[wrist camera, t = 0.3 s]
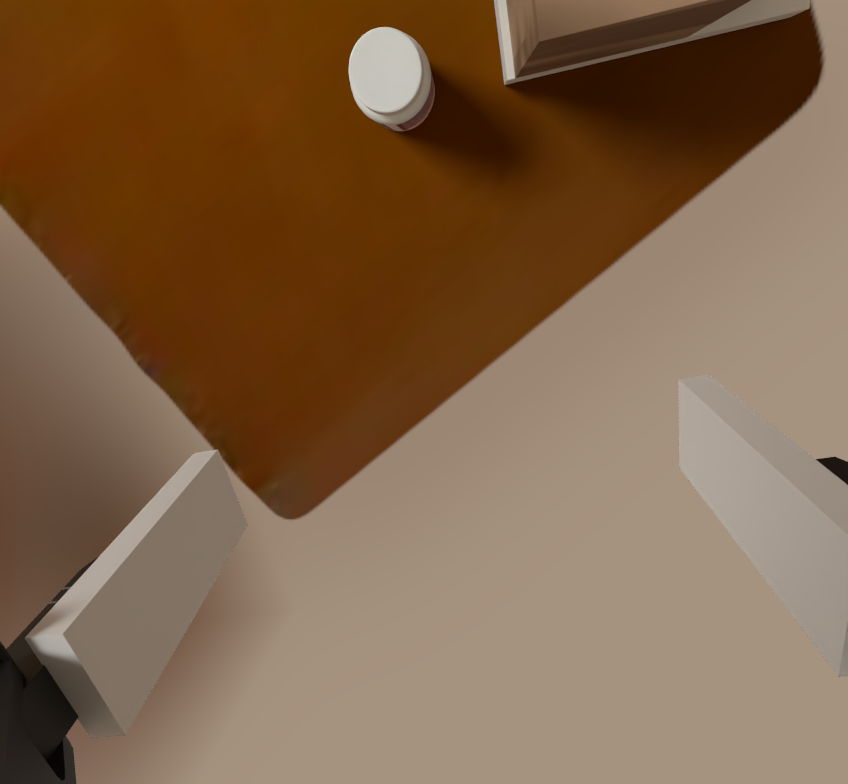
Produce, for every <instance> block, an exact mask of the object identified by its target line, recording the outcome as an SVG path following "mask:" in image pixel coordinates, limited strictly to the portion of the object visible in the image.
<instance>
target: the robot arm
mask: <svg viewBox="0 0 848 784" xmlns="http://www.w3.org/2000/svg"><path fill="white" fill-rule="evenodd" d="M679 468H680V469H681V471H682V472H683V473H684V475H685V476H686V477H687V478H688V480H689V481H690V482H691V484H692V485H693V486H694V488H695V489H696V490H697V492H698V493H699V494H700V495H701V497H702V498H703V499H704V501H705V502H706V503H707V505H708V506H709V507H710V508H711V510H712V511H713V512H714V514H715V515H716V517H717V518H718V519H719V520H720V522H721V523H722V524H723V526H724V527H725V528H726V530H727V531H728V532H729V534H730V535H731V536H732V537H733V539H734V540H735V541H736V543H737V544H738V545H739V547H740V548H741V549H742V551H743V552H744V553H745V555H746V556H747V557H748V558H749V560H750V561H751V562H752V564H753V565H754V566H755V567H756V569H757V570H758V572H759V573H760V574H761V576H762V577H763V578H764V579H765V581H766V582H767V583H768V584H769V586H770V587H771V589H772V590H773V591H774V592H775V594H776V595H777V596H778V598H779V599H780V600H781V602H782V603H783V604H784V606H785V607H786V608H787V609H788V611H789V612H790V614H791V615H792V616H793V617H794V619H795V620H796V621H797V623H798V624H799V625H800V626H801V628H802V629H803V631H804V632H805V633H806V635H807V636H808V637H809V638H810V640H811V641H812V642H813V644H814V645H815V646H816V648H817V649H818V650H819V652H820V653H821V654H822V655H823V657H824V658H825V659H826V661H827V662H828V663H829V665H830V666H831V667H832V669H833V670H834V671H835V673H836V674H837V675H838V676H839V677H840V676H848V462H846V461H844V460H841V459H839V458H837V457H830V458H823V459H814V458H813V457H812V456H811V455H809V454H808V453H807V452H806V451H804V450H803V449H802V448H801V447H799V446H798V445H797V444H796V443H794V442H793V441H792V440H791V439H789V438H788V437H787V436H785V435H784V434H783V433H782V432H780V431H779V430H778V429H777V428H775V427H774V426H773V425H772V424H770V423H769V422H768V421H766V420H765V419H764V418H763V417H762V416H760V415H759V414H758V413H757V412H755V411H754V410H753V409H752V408H750V407H749V406H748V405H747V404H745V403H744V402H743V401H742V400H740V399H739V398H738V397H736V396H735V395H734V394H733V393H731V392H730V391H729V390H728V389H726V388H725V387H724V386H722V385H721V384H720V383H719V382H718V381H716V380H715V379H714V378H713V377H711V376H710V375H704V376H697V377H690V378H684V379H679ZM246 527H247V522H246V519H245V517H244V514H243V512H242V509H241V507H240V504H239V502H238V499H237V497H236V494H235V492H234V489H233V487H232V484H231V481H230V479H229V476H228V474H227V471H226V469H225V466H224V464H223V461H222V459H221V456H220V454H219V451H218V450H212V451H205V452H198V453H194V454H193V455H192V456H191V457H190V458H189V459H188V460H187V461H186V462H185V464H184V465H183V466H182V467H181V468H180V469H179V470H178V471H177V473H175V474H174V476H173V477H172V478H171V479H170V480H169V481H168V482H167V483H166V484H165V485H164V486H163V487H162V489H161V490H160V491H159V492H158V493H157V494H156V495H155V496H154V497H153V498H152V500H151V501H150V502H149V503H148V504H147V505H146V506H145V507H144V508H143V509H142V510H141V512H140V513H139V514H138V515H137V516H136V517H135V518H134V519H133V520H132V521H131V523H130V524H129V525H128V526H127V527H126V528H125V529H124V530H123V531H122V532H121V533H120V534H119V536H118V537H117V538H116V539H115V540H114V541H113V542H112V543H111V544H110V545H109V546H108V548H107V549H106V550H105V551H104V552H103V553H102V554H101V555H100V556H98V557H97V558H96V559H95V560H93V561H92V562H90V563H89V564H88V565H86V566H85V567H84V568H82V569H81V570H80V571H79V572H78V573H77V574H76V575H75V576H74V577H73V578H72V579H71V581H70V582H69V583H68V584H67V585H66V586H65V590H61V591H60V592H59V593H58V594H57V595H56V597H55V598H54V599H53V600H52V603H51V604H48V605H47V606H46V607H45V608H44V610H43V611H42V612H41V613H40V614H39V615H38V616H37V617H36V618H35V619H34V620H33V621H32V622H31V623H30V624H29V625H28V627H27V628H26V629H25V630H24V631H23V632H22V633H21V634H20V635H19V636H18V637H17V638H16V639H15V640H14V642H13V643H12V644H11V645H10V646H9V647H8V648H7V649H5V647H4V646H3V645H2V643H1V642H0V784H76V775H75V765H74V753H73V747H72V746H71V743H70V741H69V740H68V739H67V737H66V734H67V732H68V731H69V730H70V728H71V727H72V725H73V724H74V723H75V721H76V720H77V718H78V720H79V721H80V723H81V724H82V726H83V727H84V729H85V730H86V732H87V733H88V735H89V736H90V738H99V737H112V736H124V735H126V734H127V732H128V730H129V729H130V727H131V725H132V723H133V721H134V720H135V718H136V717H137V715H138V713H139V711H140V709H141V708H142V706H143V705H144V703H145V701H146V699H147V698H148V696H149V694H150V692H151V691H152V689H153V687H154V686H155V684H156V682H157V680H158V679H159V677H160V675H161V673H162V672H163V670H164V668H165V667H166V665H167V663H168V661H169V660H170V658H171V656H172V654H173V653H174V651H175V649H176V647H177V646H178V644H179V642H180V641H181V639H182V637H183V635H184V634H185V632H186V630H187V629H188V627H189V625H190V623H191V621H192V620H193V618H194V616H195V615H196V613H197V611H198V610H199V608H200V606H201V604H202V603H203V601H204V599H205V598H206V596H207V594H208V592H209V591H210V589H211V587H212V585H213V584H214V582H215V580H216V579H217V577H218V575H219V573H220V572H221V570H222V568H223V566H224V565H225V563H226V561H227V560H228V558H229V556H230V554H231V553H232V551H233V549H234V547H235V546H236V544H237V542H238V541H239V539H240V537H241V535H242V534H243V532H244V530H245V529H246Z"/></svg>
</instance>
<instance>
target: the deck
mask: <svg viewBox="0 0 848 784" xmlns="http://www.w3.org/2000/svg"><path fill="white" fill-rule="evenodd" d="M494 5H495V13H496V21H497V29H498V37H499V45H500V53H501V61H502V69H503V78H504V85H507V84H511V83H515V82H520V81H524V80H528V79H532V78H537V77H541V76H545V75H549V74H553V73H558V72H562V71H566V70H570V69H575V68H579V67H583V66H587V65H591V64H596V63H600V62H604V61H608V60H613V59H617V58H621V57H625V56H629V55H634V54H638V53H642V52H646V51H651V50H655V49H659V48H663V47H667V46H672V45H676V44H680V43H684V42H689V41H693V40H697V39H701V38H706V37H710V36H714V35H718V34H722V33H727V32H731V31H735V30H739V29H744V28H748V27H752V26H756V25H760V24H765V23H769V22H773V21H777V20H782V19H786V18H790V17H792V16H794V15H796V14H798V13H801V12H803V11H805V10H807V9H809V8H810V0H751V1H749V2H747V3H746V4H744V5H742V6H741V7H739V8H737V9H735V10H734V11H732V12H730V13H728V14H727V15H725V16H723V17H722V18H720V19H718V20H716V21H715V22H713V23H711V24H709V25H708V26H706V27H704V28H703V29H701V30H699V31H697V32H696V33H694V34H692V35H690V36H689V37H687V38H683V39H679V40H674V41H670V42H666V43H662V44H657V45H653V46H649V47H645V48H641V49H636V50H632V51H628V52H624V53H620V54H615V55H611V56H607V57H603V58H599V59H594V60H590V61H586V62H582V63H578V64H573V65H569V66H565V67H561V68H557V69H552V70H548V71H544V72H540V73H536V74H531V75H527V76H523V77H519V78H515V73H514V64H513V56H512V47H511V39H510V30H509V21H508V13H507V4H506V0H494Z"/></svg>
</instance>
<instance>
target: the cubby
mask: <svg viewBox="0 0 848 784" xmlns="http://www.w3.org/2000/svg"><path fill="white" fill-rule="evenodd" d="M749 1H751V0H506V4H507V13H508V21H509V30H510V39H511V47H512V56H513V64H514V73H515V78H519V77H523V76H527V75H531V74H536V73H540V72H544V71H548V70H552V69H557V68H561V67H565V66H569V65H573V64H578V63H582V62H586V61H590V60H594V59H599V58H603V57H607V56H611V55H615V54H620V53H624V52H628V51H632V50H636V49H641V48H645V47H649V46H653V45H657V44H662V43H666V42H670V41H674V40H679V39H683V38H687V37H689V36H690V35H692V34H694V33H696V32H697V31H699V30H701V29H703V28H704V27H706V26H708V25H709V24H711V23H713V22H715V21H716V20H718V19H720V18H722V17H723V16H725V15H727V14H728V13H730V12H732V11H734V10H735V9H737V8H739V7H741V6H742V5H744V4H746V3H747V2H749Z"/></svg>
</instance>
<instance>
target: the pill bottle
mask: <svg viewBox="0 0 848 784" xmlns="http://www.w3.org/2000/svg"><path fill="white" fill-rule="evenodd" d="M349 79H350V84H351V90H352V93H353V96H354V99H355V101H356V103H357V105H358V106H359V107H360V109H361V110H362V111H363V113H364V114H365V115H366V116H368V117H369V118H370V119H372V120H373V121H375V122H377V123H379V124H380V125H382V126H384V127H386V128H388V129H390V130H394V131H407V130H410V129H413V128H415V127H417V126H418V125H420V124H421V123H422V122H423V121H424V120H425V119H426V117H427V116H428V114H429V112H430V111H431V108H432V105H433V102H434V96H435V87H434V81H433V77H432V73H431V68H430V63H429V60H428V58H427V56H426V54H425V52H424V50H423V49H422V47H421V46H420V45H419V44H418V42H417V41H416V40H414V39H413V38H412V37H411V36H409V35H407V34H405V33H403V32H401V31H399V30H397V29H394V28H390V27H379V28H375V29H372V30H370V31H368V32H367V33H365V34H364V35H363V36H362V37H361V38H360V39H359V40H358V41H357V43H356V44H355V46H354V48H353V50H352V53H351V56H350V60H349Z"/></svg>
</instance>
